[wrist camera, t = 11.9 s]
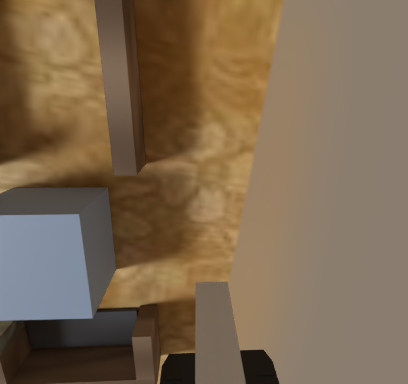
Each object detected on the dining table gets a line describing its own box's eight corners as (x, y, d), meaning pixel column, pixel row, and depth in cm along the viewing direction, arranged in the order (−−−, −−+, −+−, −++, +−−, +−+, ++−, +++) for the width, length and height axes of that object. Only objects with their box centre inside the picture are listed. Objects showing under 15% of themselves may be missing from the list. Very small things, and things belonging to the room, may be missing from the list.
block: (14, 187, 18) (-50, 215, 14) (108, 186, 19) (78, 214, 14) (30, 270, 20) (-21, 321, 15) (116, 268, 20) (92, 318, 16)
